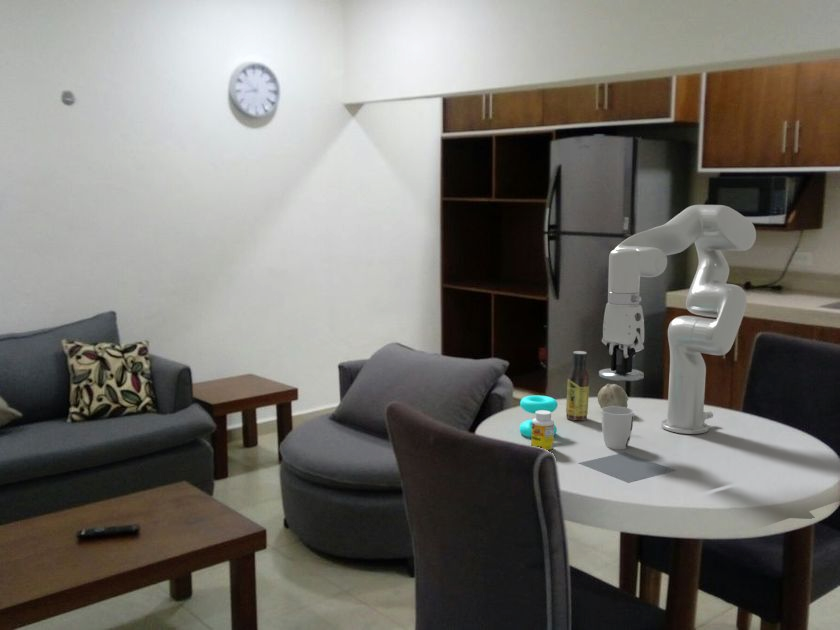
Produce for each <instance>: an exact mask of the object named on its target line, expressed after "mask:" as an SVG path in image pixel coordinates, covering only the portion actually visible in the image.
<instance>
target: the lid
mask: <svg viewBox="0 0 840 630" xmlns="http://www.w3.org/2000/svg"><path fill="white" fill-rule="evenodd" d="M623 357H624V347H623V348H622V347H620V348H618V349H616V371H612V370H611V367H609V368H603V369H600V370H599V371H598V377H600V378H602V379H605V380H610V381H616V382H633V381H641V380H643V379H644V378H645V377H644V375H645V374H644V372H643V371H641V370H638V369H635V368H632V372H629V373H622V372H621V370H622V358H623Z"/></svg>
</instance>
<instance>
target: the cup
mask: <svg viewBox="0 0 840 630" xmlns="http://www.w3.org/2000/svg"><path fill="white" fill-rule="evenodd" d="M600 409H601V408H600ZM634 415H635V411H634V410H633V409H632V408H629V407H627V408H625V407H604V408H602V409H601V429H602V437H603V440H604V445H605V447H606V448H609V449H612V450H625V449H627V447H628V446H629V443H630V440H631V435H632V430H633V426H634Z"/></svg>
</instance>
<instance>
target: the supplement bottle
mask: <svg viewBox="0 0 840 630" xmlns="http://www.w3.org/2000/svg"><path fill="white" fill-rule="evenodd" d="M554 425H555V421H554V419H553V418H552V412H549V411H545V410H539V411H536V412H535V414H534V418H533V420H532V436H531V444H530V447H531V446H535V447H540V448H543V449H546V450H548V451H550V452H552V451H554V440H555V439H554V437H555V435H554ZM550 452H549V453H550Z"/></svg>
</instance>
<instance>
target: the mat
mask: <svg viewBox="0 0 840 630" xmlns="http://www.w3.org/2000/svg"><path fill="white" fill-rule="evenodd" d="M578 464H579V465H582V466H584V467H587V468H589V469H592V470H594V471H597V472H599V473H601V474H605V475H606V476H610V477H613V478H615V479H618V480H620V481H623V482H625V483H628V484H630V483H633V482H637V481H641V480H645V479H648V478H652V477H653V478H654V477H656V476H657V477H658V476H661V475H665V474H668V473H669V474H670V473H672V472H676V471H677V469H675V468H670V467H669V466H665V465H663V464H660V463H657V462H654V461H651V460H649V459H645V458H642V457H640V456H637V455H634V454H631V453H628V452H621V453H617V454H612V455H608V456H603V457H598V458H594V459H590V460H586V461H582V462H578Z"/></svg>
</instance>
